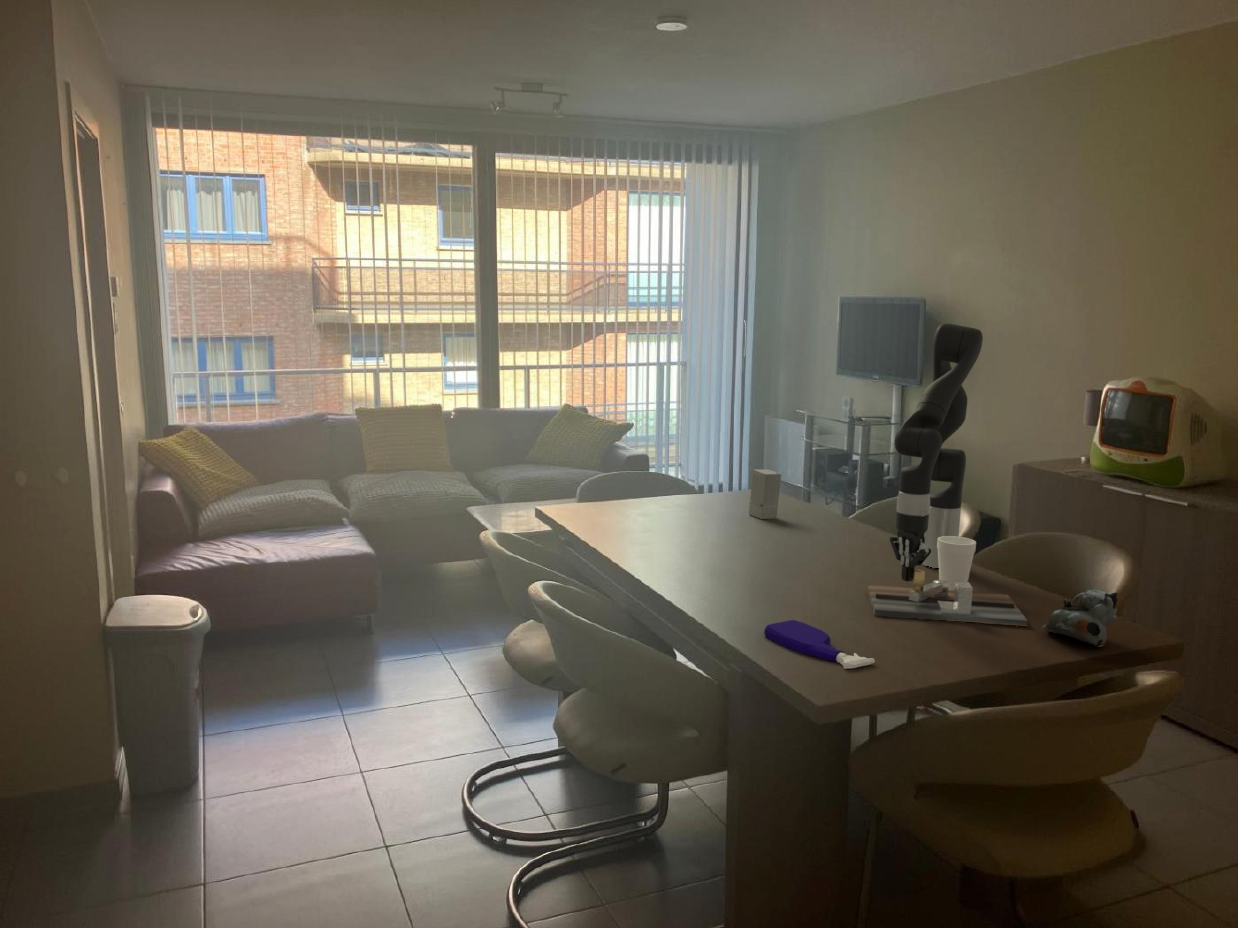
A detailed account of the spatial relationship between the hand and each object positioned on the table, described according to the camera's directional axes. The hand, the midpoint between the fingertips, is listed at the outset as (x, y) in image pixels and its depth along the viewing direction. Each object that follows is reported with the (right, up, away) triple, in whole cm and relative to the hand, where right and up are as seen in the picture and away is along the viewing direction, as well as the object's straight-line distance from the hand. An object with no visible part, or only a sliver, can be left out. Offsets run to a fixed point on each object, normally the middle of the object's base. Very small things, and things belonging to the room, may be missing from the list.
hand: (907, 580), depth 239 cm
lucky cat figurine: (+32, -11, -19) cm, 39 cm away
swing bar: (+6, -4, +2) cm, 7 cm away
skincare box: (-20, +10, +99) cm, 102 cm away
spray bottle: (-28, -12, -30) cm, 43 cm away
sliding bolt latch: (+9, -7, +1) cm, 11 cm away
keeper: (+9, -6, -6) cm, 13 cm away
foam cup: (+17, -5, +17) cm, 25 cm away
